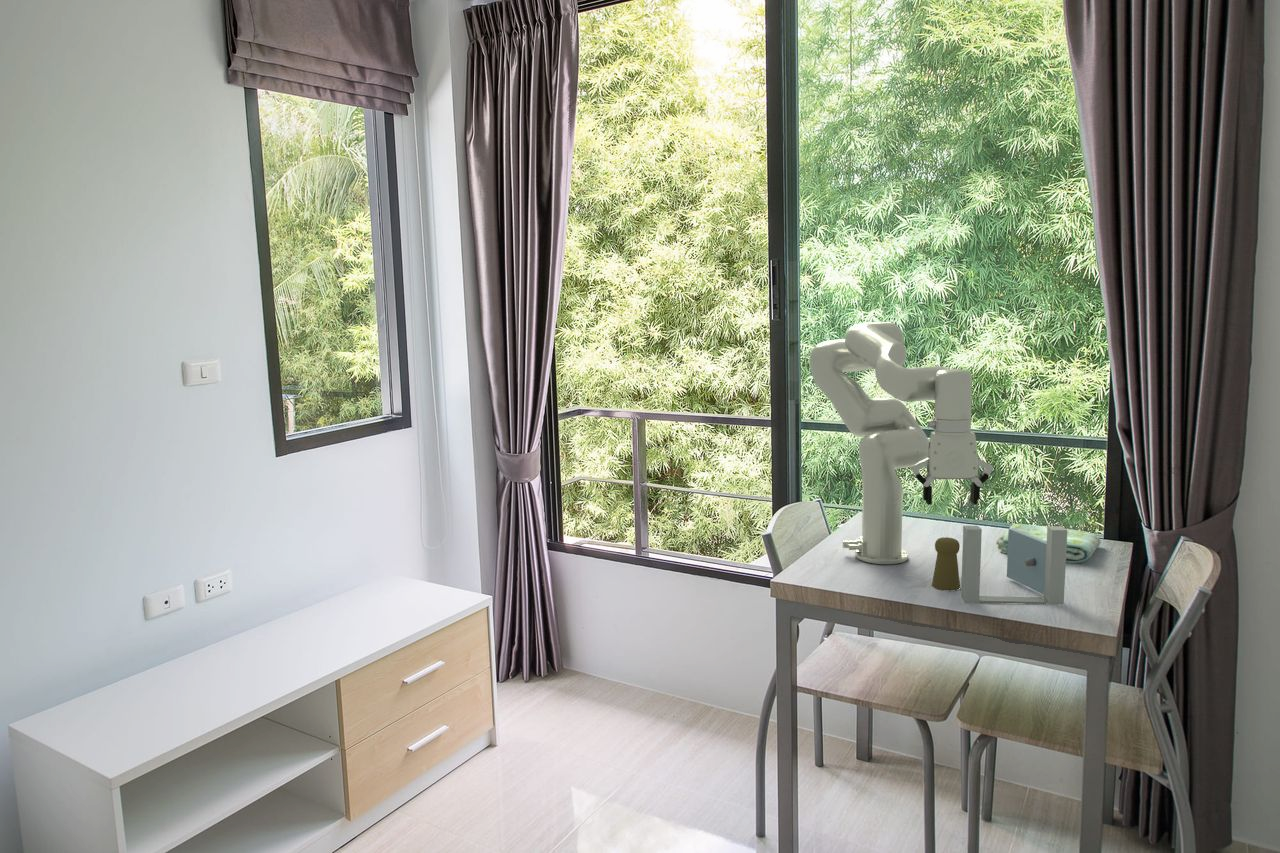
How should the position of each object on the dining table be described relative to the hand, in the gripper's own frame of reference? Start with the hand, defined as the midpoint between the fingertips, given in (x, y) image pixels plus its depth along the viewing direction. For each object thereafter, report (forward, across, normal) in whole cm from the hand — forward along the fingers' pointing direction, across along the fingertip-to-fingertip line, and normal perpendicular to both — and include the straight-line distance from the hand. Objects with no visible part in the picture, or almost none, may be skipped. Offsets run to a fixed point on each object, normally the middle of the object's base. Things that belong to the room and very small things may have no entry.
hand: (951, 503), depth 196 cm
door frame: (+19, +11, -9) cm, 24 cm away
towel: (+19, +31, +29) cm, 46 cm away
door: (+18, +16, -1) cm, 24 cm away
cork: (+19, -1, 0) cm, 19 cm away
